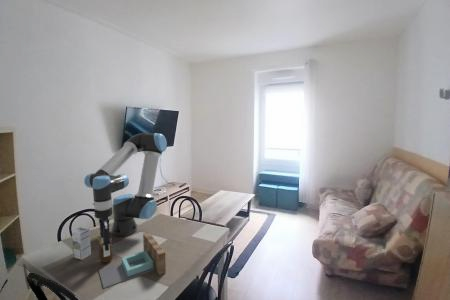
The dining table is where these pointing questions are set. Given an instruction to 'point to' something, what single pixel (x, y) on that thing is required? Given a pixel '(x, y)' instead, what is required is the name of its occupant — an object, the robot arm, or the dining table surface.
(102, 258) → the utensil holder
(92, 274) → the dining table surface
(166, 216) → the dining table surface
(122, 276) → the grey flat plate
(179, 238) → the dining table surface
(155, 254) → the backstop wall
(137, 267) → the socket frame
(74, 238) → the syrup box
